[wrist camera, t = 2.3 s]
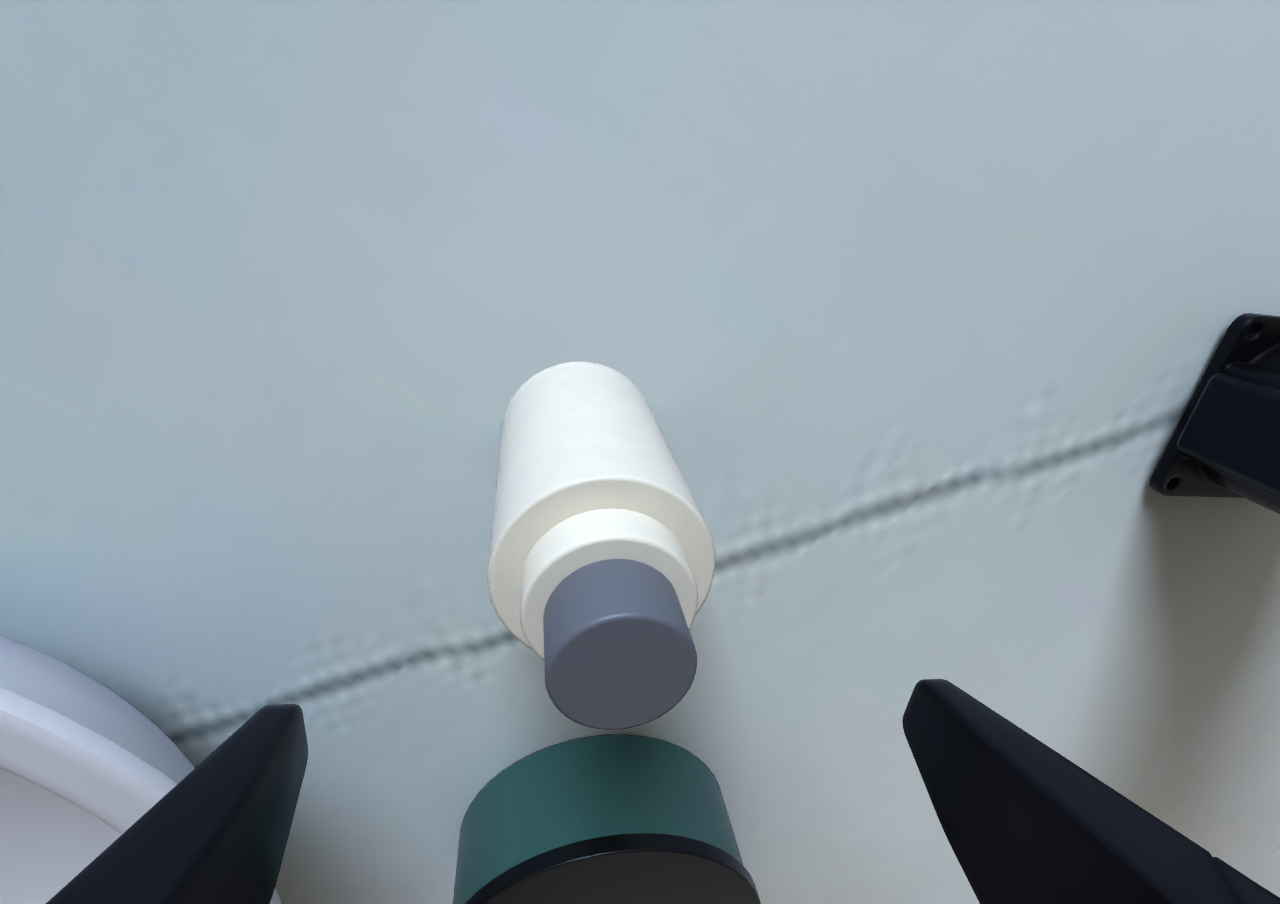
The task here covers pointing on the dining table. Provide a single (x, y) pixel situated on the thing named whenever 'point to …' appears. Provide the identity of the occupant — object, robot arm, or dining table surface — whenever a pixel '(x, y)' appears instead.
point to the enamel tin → (602, 830)
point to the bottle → (597, 547)
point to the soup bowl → (70, 772)
